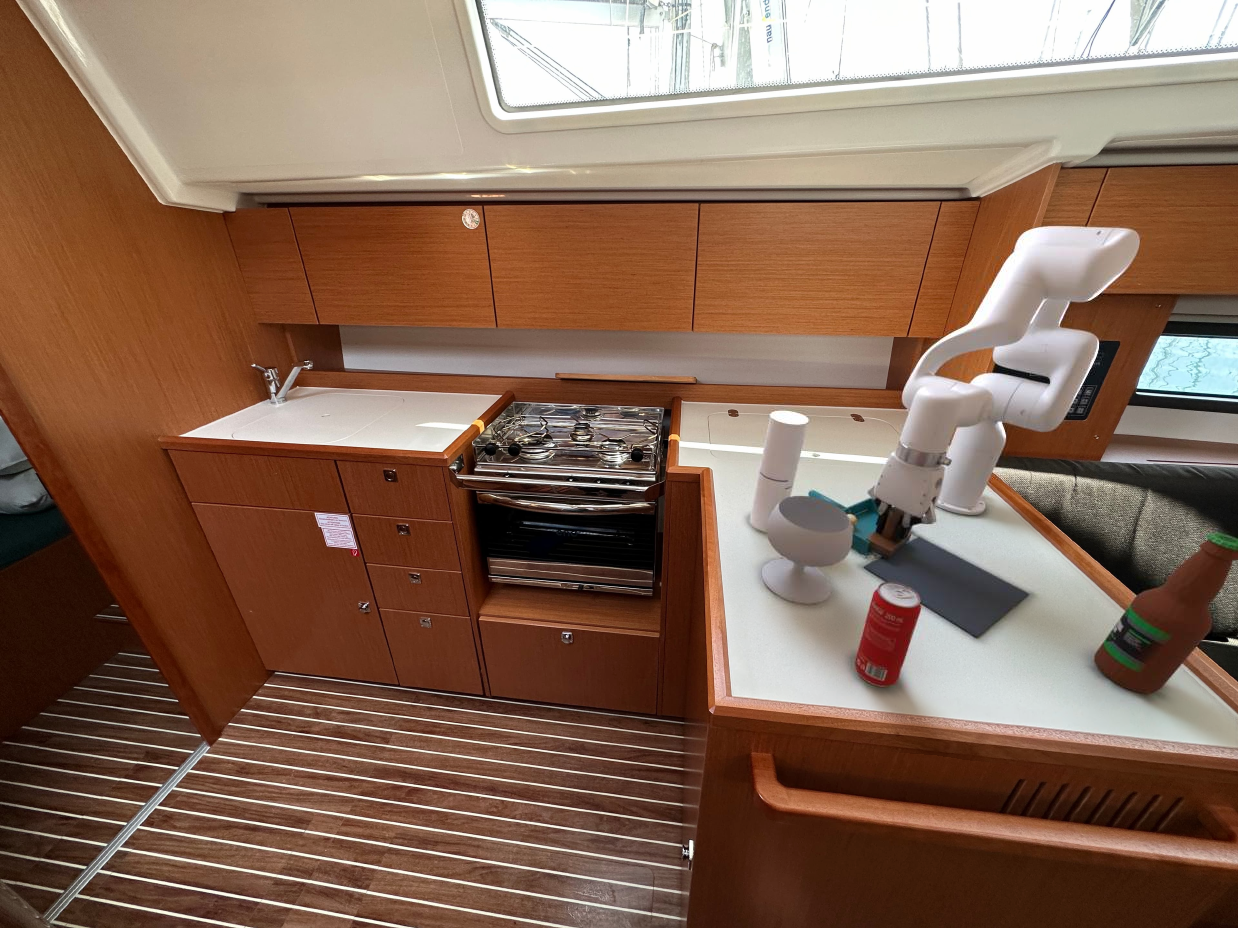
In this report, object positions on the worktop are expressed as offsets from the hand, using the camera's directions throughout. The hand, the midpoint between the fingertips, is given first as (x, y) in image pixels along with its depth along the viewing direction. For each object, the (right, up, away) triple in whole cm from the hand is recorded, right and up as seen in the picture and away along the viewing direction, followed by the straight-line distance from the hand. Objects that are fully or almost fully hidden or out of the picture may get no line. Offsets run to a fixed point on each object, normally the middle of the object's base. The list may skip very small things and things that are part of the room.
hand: (889, 534), depth 95 cm
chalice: (-23, -8, -9) cm, 25 cm away
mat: (+6, -8, -7) cm, 12 cm away
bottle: (+21, -18, -25) cm, 37 cm away
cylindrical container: (-23, +1, +8) cm, 24 cm away
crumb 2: (-7, 0, +4) cm, 8 cm away
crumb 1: (-5, +2, +7) cm, 8 cm away
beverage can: (-18, -17, -26) cm, 35 cm away
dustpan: (-4, +2, +10) cm, 11 cm away
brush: (0, -2, +1) cm, 2 cm away
